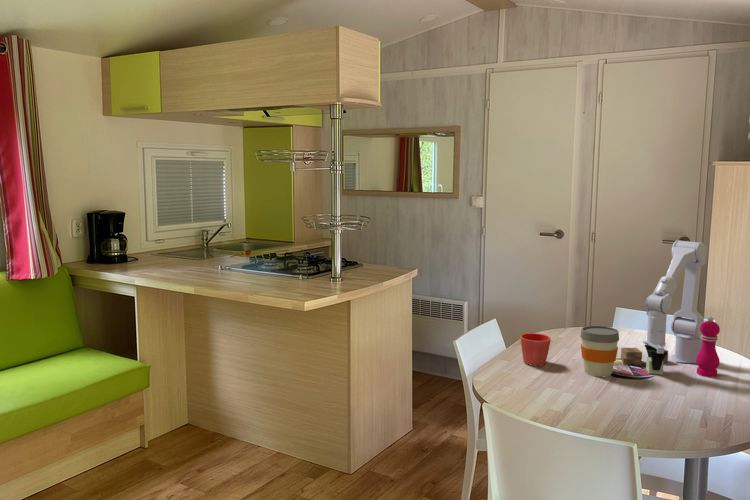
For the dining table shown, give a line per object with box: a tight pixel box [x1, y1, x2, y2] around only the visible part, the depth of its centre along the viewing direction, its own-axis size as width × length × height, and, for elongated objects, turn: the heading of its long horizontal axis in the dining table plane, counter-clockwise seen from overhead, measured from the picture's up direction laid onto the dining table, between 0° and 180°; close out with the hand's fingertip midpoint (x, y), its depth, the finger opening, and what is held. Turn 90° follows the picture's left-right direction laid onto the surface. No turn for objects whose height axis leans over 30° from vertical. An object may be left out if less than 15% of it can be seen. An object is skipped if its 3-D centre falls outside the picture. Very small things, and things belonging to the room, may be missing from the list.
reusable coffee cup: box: [580, 325, 620, 378], centre depth 219 cm, size 13×13×15 cm
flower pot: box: [520, 332, 552, 366], centre depth 230 cm, size 11×11×10 cm
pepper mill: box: [695, 316, 721, 378], centre depth 216 cm, size 7×7×20 cm
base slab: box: [620, 354, 642, 366], centre depth 231 cm, size 6×6×2 cm
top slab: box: [620, 347, 643, 360], centre depth 230 cm, size 6×6×2 cm
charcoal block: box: [663, 348, 669, 364], centre depth 231 cm, size 4×4×4 cm
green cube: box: [645, 356, 665, 375], centre depth 219 cm, size 4×4×4 cm
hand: (654, 367), depth 220 cm, fingers closed on green cube, 4 cm apart
